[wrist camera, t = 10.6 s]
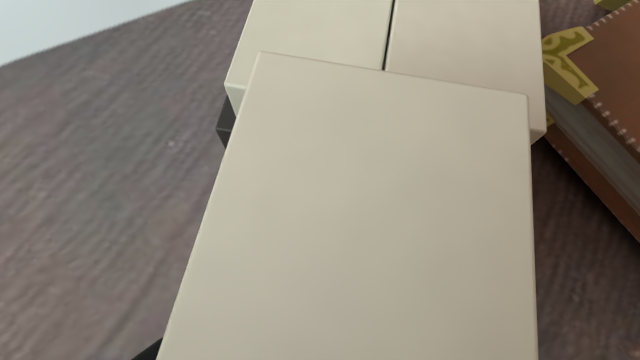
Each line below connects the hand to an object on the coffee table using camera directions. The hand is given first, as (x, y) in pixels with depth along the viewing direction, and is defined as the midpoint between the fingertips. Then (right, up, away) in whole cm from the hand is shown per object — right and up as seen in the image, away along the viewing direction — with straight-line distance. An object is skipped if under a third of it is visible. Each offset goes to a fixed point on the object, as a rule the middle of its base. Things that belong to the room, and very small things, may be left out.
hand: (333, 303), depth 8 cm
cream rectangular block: (0, -3, +4) cm, 5 cm away
